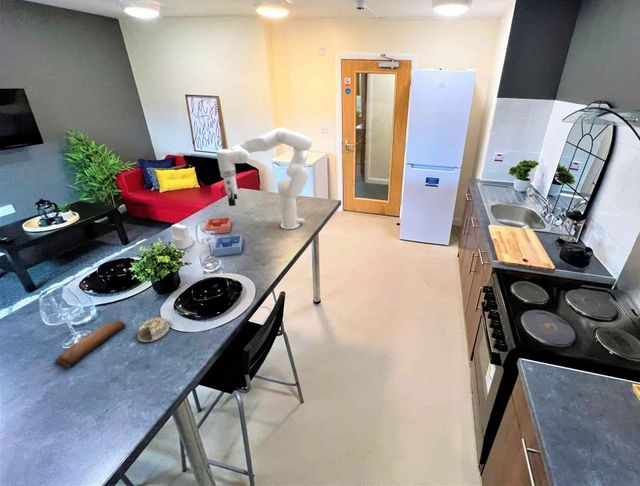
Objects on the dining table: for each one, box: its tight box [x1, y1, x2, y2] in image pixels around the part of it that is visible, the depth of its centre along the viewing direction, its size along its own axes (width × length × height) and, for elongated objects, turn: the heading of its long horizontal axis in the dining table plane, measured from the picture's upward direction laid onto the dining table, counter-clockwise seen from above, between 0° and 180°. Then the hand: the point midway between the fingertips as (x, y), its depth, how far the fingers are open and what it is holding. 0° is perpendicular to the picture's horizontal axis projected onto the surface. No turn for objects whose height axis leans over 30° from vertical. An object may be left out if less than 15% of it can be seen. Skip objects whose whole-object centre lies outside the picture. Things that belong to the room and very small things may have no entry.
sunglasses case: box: [55, 320, 126, 368], centre depth 103 cm, size 18×7×7 cm
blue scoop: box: [222, 238, 239, 248], centre depth 162 cm, size 9×5×5 cm, turn 107°
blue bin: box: [212, 234, 244, 257], centre depth 162 cm, size 13×13×4 cm
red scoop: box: [212, 220, 227, 227], centre depth 183 cm, size 9×5×5 cm, turn 107°
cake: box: [137, 317, 171, 343], centre depth 108 cm, size 10×10×5 cm
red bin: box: [203, 216, 232, 235], centre depth 183 cm, size 13×13×4 cm
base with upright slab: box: [171, 223, 194, 250], centre depth 163 cm, size 9×9×12 cm
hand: (233, 202), depth 162 cm, fingers open, 9 cm apart
